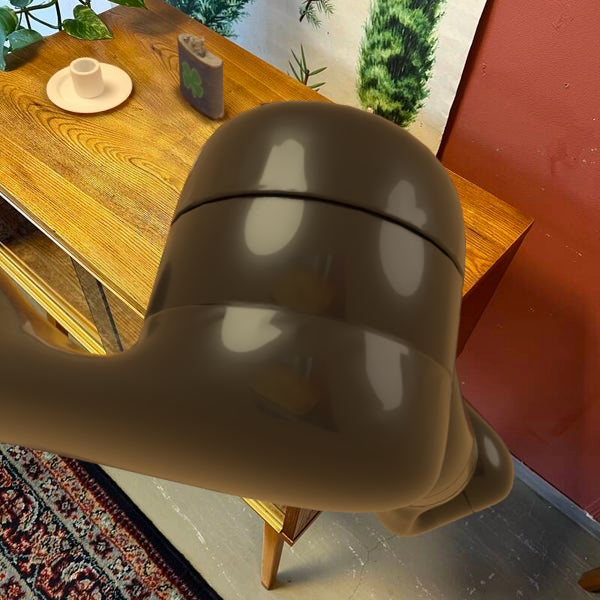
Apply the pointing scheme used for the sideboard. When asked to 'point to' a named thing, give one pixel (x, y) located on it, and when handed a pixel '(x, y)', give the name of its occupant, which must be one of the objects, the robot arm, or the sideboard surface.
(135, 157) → the sideboard surface
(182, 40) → the flask
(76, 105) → the candle holder
